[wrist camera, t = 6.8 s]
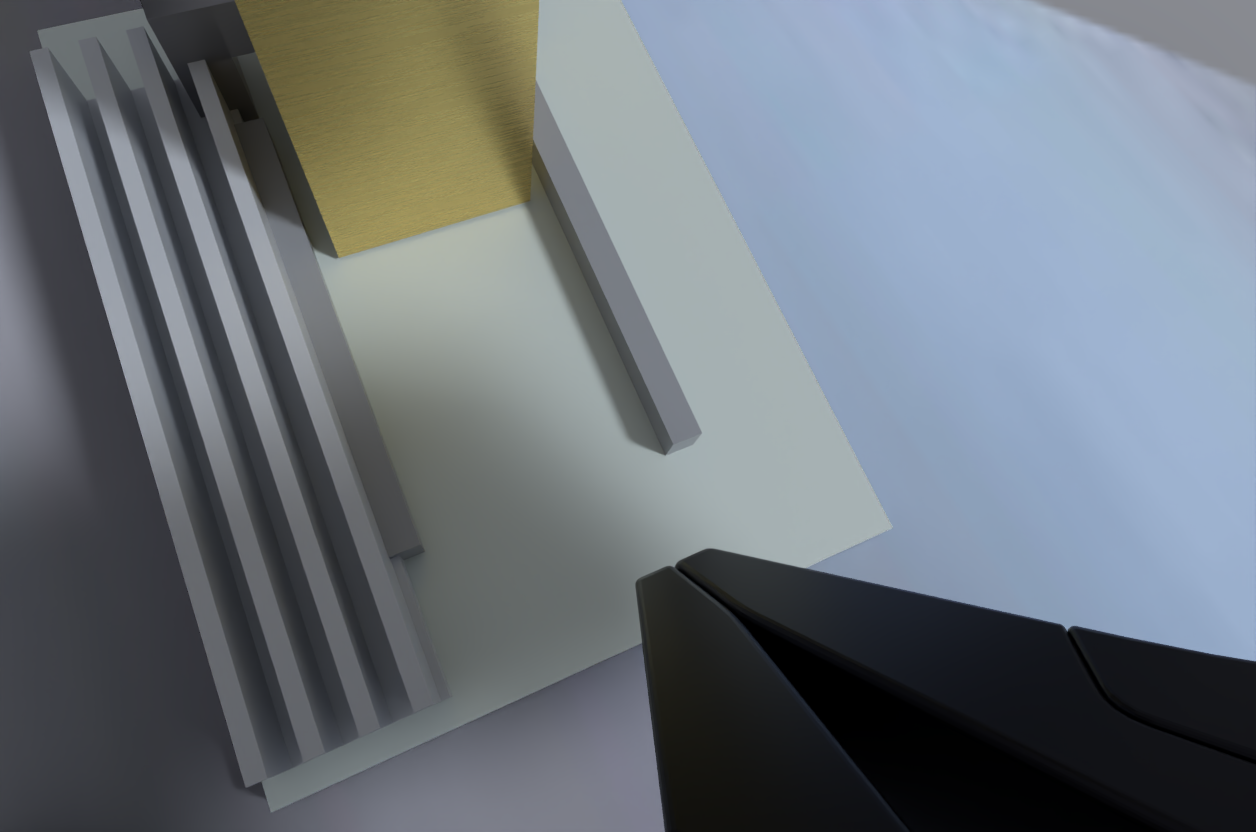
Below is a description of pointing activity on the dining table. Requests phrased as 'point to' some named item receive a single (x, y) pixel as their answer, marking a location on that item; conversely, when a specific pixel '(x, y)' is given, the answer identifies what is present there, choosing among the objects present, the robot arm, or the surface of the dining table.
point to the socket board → (431, 387)
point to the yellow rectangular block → (402, 107)
